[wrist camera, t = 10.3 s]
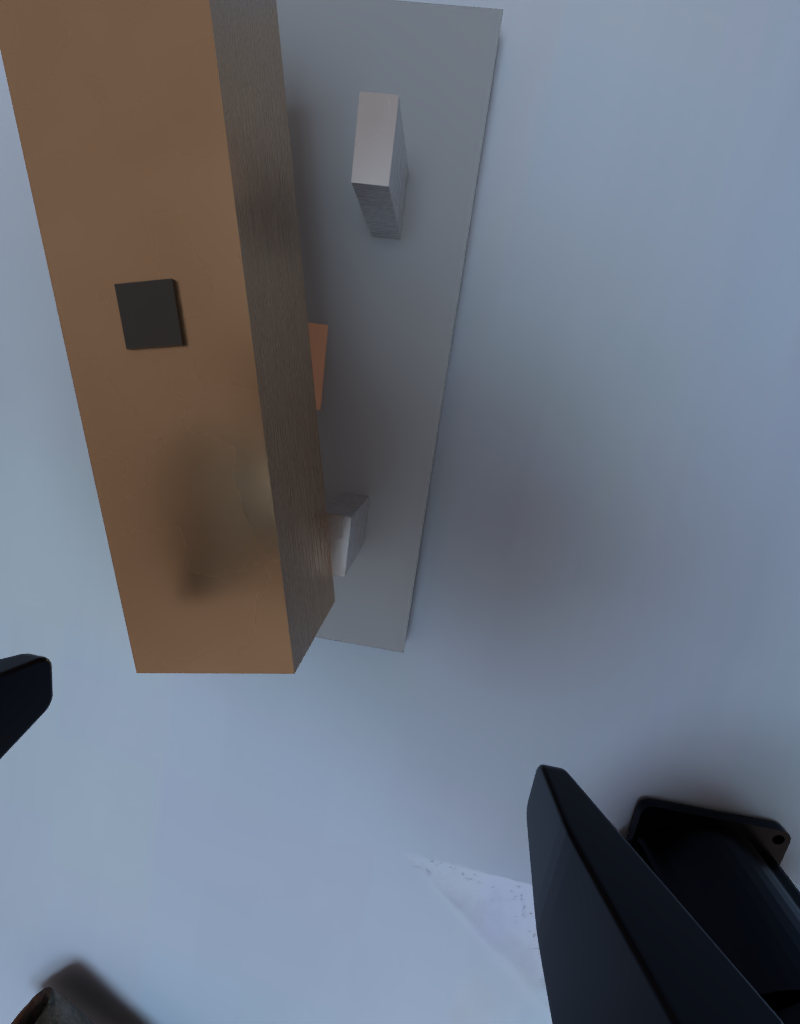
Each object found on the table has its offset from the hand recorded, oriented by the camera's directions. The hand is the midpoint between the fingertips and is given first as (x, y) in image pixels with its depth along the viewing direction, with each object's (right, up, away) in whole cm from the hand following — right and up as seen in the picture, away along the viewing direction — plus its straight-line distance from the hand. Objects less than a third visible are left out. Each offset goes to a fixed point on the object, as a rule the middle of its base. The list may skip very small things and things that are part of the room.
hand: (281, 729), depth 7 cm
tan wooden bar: (-2, +9, +5) cm, 10 cm away
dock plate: (-2, +10, +9) cm, 13 cm away
